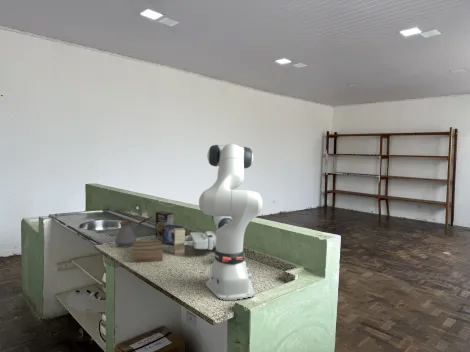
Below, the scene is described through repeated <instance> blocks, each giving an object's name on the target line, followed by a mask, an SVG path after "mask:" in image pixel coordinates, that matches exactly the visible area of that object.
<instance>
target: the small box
mask: <svg viewBox="0 0 470 352" xmlns="http://www.w3.org/2000/svg"><path fill="white" fill-rule="evenodd" d="M175 228H184V226H183V225H176V224H175V225H174V224H173V225H165V226H163V231H162V239H161V243H162V245H167V246H172V247H174V229H175Z"/></svg>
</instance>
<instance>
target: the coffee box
mask: <svg viewBox="0 0 470 352" xmlns="http://www.w3.org/2000/svg"><path fill="white" fill-rule="evenodd" d="M174 217H175V216H174V212H169V211H164V210H163V211H157V212H155V239H156V240H162V231H163V226H165V225H174Z"/></svg>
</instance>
